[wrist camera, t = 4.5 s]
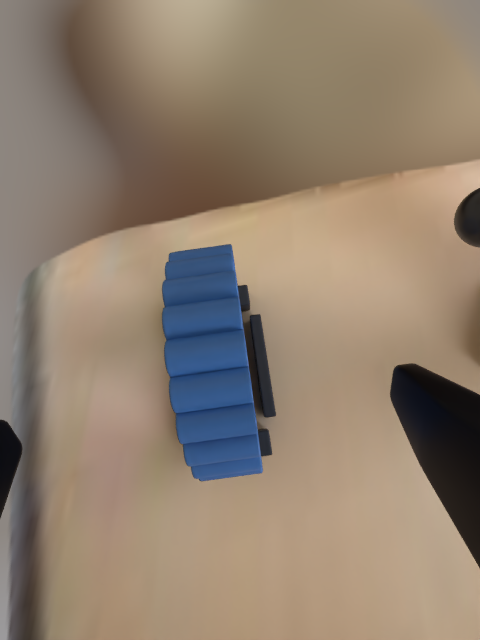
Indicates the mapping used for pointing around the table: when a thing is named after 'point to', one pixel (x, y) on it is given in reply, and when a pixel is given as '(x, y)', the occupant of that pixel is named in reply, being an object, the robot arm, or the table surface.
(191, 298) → the blue ridged ring
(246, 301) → the tape cradle
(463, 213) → the hook stand
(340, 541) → the table surface
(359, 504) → the table surface
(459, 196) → the table surface
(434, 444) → the robot arm
